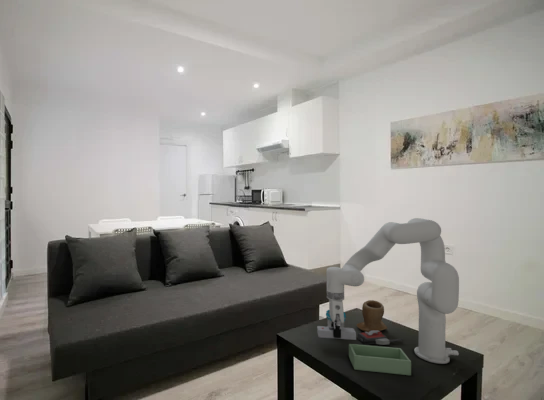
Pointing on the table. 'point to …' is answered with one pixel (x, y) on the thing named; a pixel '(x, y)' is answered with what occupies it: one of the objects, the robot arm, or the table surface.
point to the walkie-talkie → (375, 338)
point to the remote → (328, 332)
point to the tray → (379, 359)
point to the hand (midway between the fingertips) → (336, 334)
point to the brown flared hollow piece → (372, 316)
